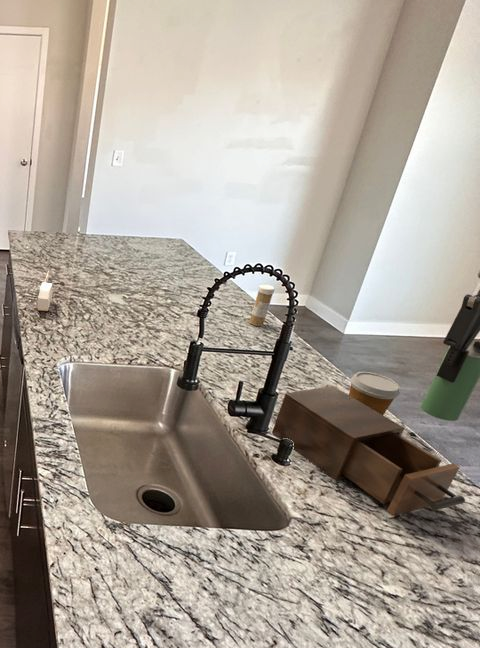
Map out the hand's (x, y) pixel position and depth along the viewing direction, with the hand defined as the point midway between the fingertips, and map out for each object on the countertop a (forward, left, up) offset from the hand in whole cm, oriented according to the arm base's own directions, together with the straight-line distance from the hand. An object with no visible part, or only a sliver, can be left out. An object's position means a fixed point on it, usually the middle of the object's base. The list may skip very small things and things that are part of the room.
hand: (457, 376), depth 103 cm
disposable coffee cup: (+17, -6, -24) cm, 30 cm away
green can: (0, 0, -8) cm, 8 cm away
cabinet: (+11, +11, -24) cm, 28 cm away
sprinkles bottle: (+70, -26, -24) cm, 79 cm away
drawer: (-3, +11, -23) cm, 25 cm away
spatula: (+98, +38, -16) cm, 107 cm away
